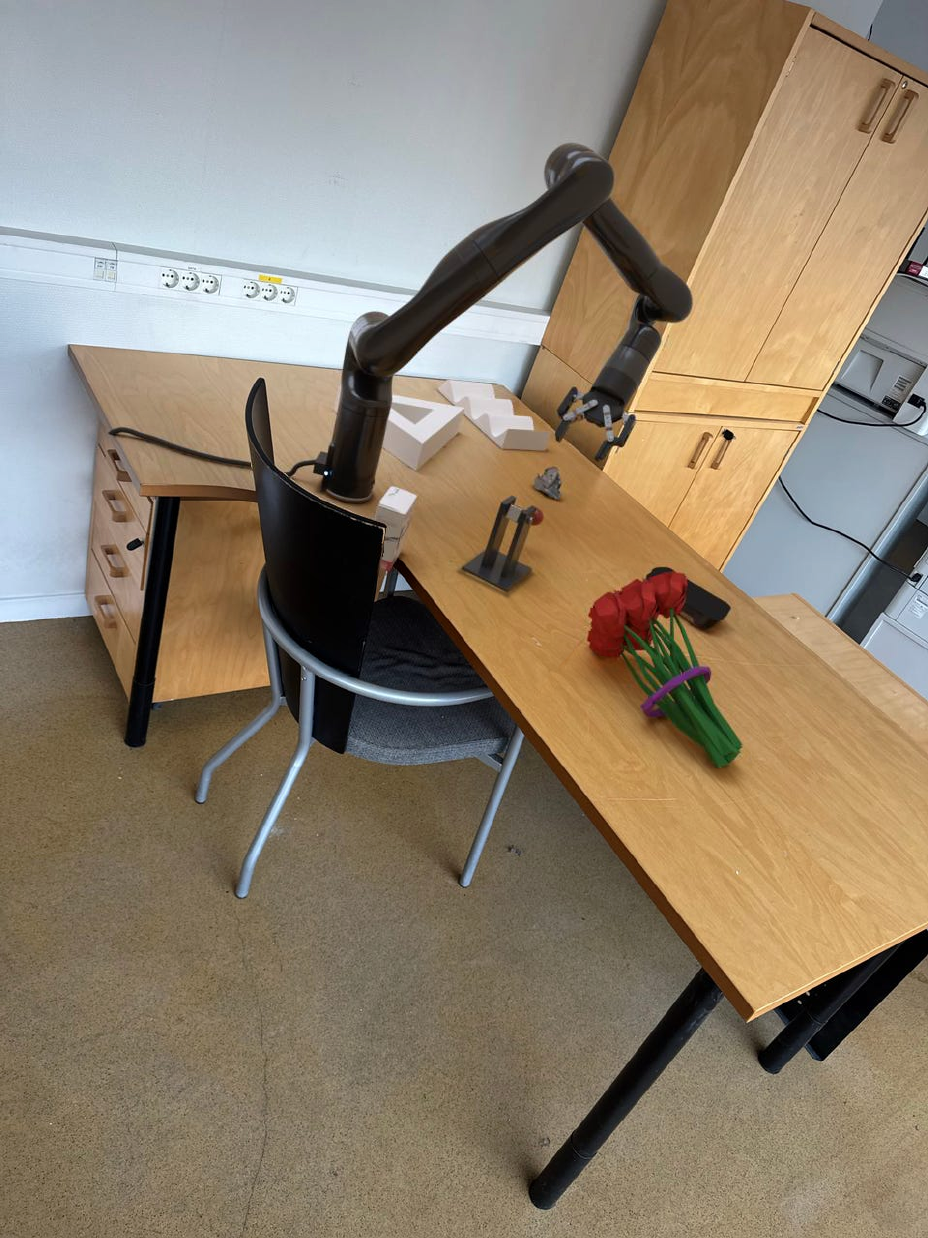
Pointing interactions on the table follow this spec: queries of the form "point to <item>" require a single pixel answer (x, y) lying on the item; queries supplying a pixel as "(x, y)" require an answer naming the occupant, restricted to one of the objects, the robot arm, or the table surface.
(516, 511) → the lever
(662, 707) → the bouquet
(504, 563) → the bracket
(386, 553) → the ink box
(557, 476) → the crumpled paper
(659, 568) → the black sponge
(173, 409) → the table surface
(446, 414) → the triangle block
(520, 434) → the file organizer
